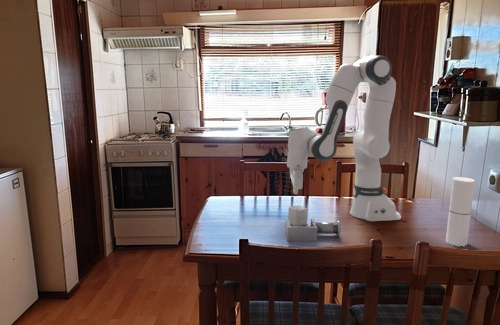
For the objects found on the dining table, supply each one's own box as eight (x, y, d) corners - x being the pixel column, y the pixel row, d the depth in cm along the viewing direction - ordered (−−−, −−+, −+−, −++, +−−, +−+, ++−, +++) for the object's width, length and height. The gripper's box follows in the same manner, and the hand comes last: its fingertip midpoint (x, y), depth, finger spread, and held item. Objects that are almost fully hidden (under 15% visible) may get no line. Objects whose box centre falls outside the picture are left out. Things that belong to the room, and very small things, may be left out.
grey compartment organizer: (336, 231, 151) (337, 216, 150) (341, 241, 141) (342, 225, 140) (285, 230, 152) (285, 216, 150) (287, 240, 142) (287, 225, 140)
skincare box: (298, 220, 164) (299, 204, 162) (307, 224, 159) (307, 208, 157) (287, 222, 161) (288, 206, 159) (296, 227, 156) (296, 210, 154)
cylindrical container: (447, 244, 138) (454, 180, 133) (444, 237, 145) (451, 176, 140) (468, 247, 136) (476, 182, 131) (465, 240, 142) (472, 178, 137)
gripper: (307, 168, 151) (305, 200, 154) (301, 159, 171) (300, 187, 174) (291, 167, 151) (290, 199, 154) (288, 158, 171) (286, 187, 174)
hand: (295, 193), depth 164 cm, fingers closed
